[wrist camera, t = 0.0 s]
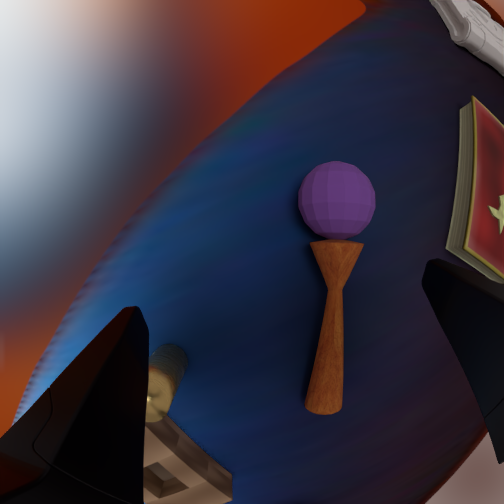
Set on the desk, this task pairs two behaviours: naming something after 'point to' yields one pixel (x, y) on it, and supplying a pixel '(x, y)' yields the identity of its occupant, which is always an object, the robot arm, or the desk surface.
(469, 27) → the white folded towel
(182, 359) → the brass pin
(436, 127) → the desk surface
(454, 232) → the hardcover book
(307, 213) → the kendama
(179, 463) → the bore block
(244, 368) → the desk surface
